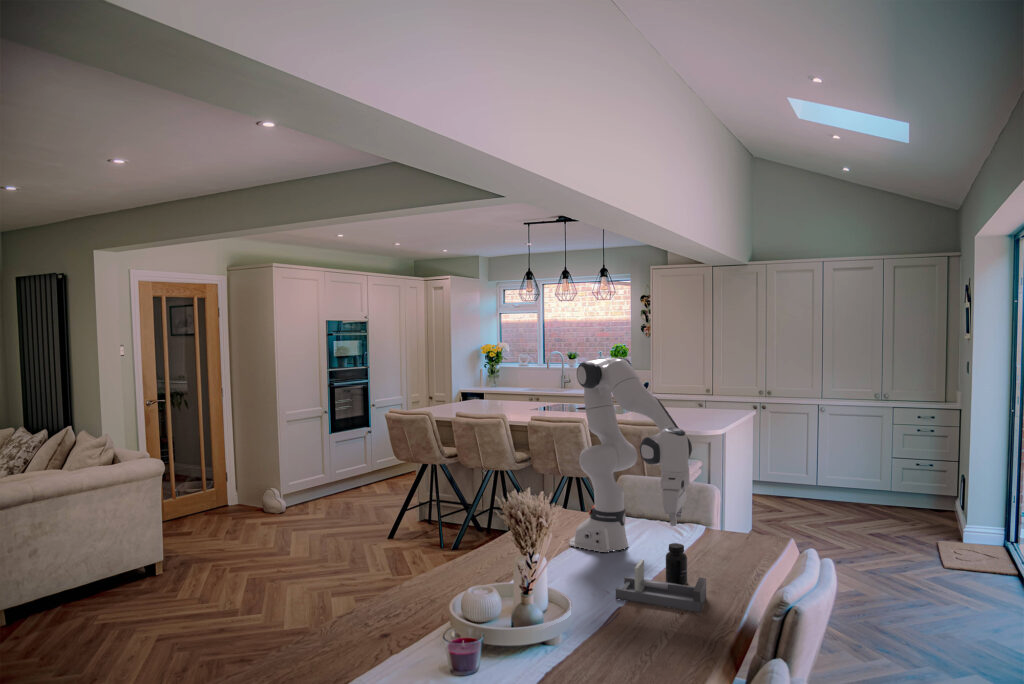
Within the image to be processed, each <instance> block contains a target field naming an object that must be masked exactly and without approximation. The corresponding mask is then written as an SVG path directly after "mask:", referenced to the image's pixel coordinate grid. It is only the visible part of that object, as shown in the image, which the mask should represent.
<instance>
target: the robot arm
mask: <svg viewBox="0 0 1024 684" xmlns="http://www.w3.org/2000/svg"><path fill="white" fill-rule="evenodd" d="M576 380H577V383H579V385H580V386H581V387H582V388H584V391H583V392H584V393H583V395H584V396H583V397H584V398H583V399H584V409H585V414H586V420H587V421H586V422H587V426H588V429H589V431H590V432H591V433H593V434H594V435H595V436H597V438H598V439H599V441H600V443H601V444H595V445H592V446H589V447H587V448H584V449H583V450H582V451H581V452H580V454H579V457H578V463H579V466H580V469H581V470H582V471H583V473H585V474H586V475H587V476H588V478H589V479H590V481H591V483H592V487H593V494H594V495H593V496H594V497H593V499H594V505H593V506H592V507H591V508H590V509H589V511H588V515H589V517H588V518H587V519H585V520H584V521H582V522H581V523H580V524H579V525H577V527H576V530H575V534H574V536H573V537H571V538H570V539H569V543H568V544H569V547H571V546H575V547H574V548H576V547H579V548H578V549H581V548H584V549H583V550H585V549H589V550H588V551H590V550H594V551H593V552H595V551H600V552H608V551H613V550H621V549H624V548H626V547H628V545H629V542H628V538H627V534H626V532H627V531H626V528H625V527H626V526H625V525H626V509H625V507H624V506H625V504H624V503H625V500H624V499H625V498H624V497H625V495H624V488H623V486H622V485H621V484H619V483H618V482H616V479H615V476H614V473H616V472H620V471H626V470H627V469H630V468H631V467H633V466H635V465H636V463H637V461H638V452H637V449H636V448H635V446H634V445H633V444H632V443H631V442H629V441H628V440H627V439H626V437H625V436H624V435H623V433H622V431H621V429H620V427H619V424H618V423H619V422H618V420H617V416H616V410H615V404H614V400H615V402H616V403H617V404H618V406H619V407H620V408H622V410H625V411H628V412H631V413H636V414H639V415H643V416H646V417H647V418H649V419H651V420H652V421H653V422H654V424H655V425H656V427H657V428H658V430H659V431H660V432H658V433H656V434H654V435H653V434H652V435H649V436H646V437H644V438H643V439H642V441H641V443H640V445H639V452H640V457H641V459H642V461H643V462H645V463H646V464H647V465H651V466H657V465H658V466H659V465H660V466H661V469H660V475H661V477H660V486H659V487H660V489H661V490H662V503H663V511H664V514H666V515H668V518H669V522H670V523H669V525H670V526H671V527H675V526H677V524H678V522H677V520H678V519H681V518H682V517H683V509H684V504H685V502H686V501H687V487H688V486H690V468H689V459H690V457H691V455H692V452H693V445H692V442H691V440H690V438H689V437H688V436H687V433H686V431H685V430H683V429H681V428H679V426H678V425H677V423H676V422H675V421H674V419H673V417H672V416H671V415H670V413H669V412H668V410H667V409H666V408H665V406H664V405H663V403H662V402H661V401H660V399H658V398H657V397H656V396H654V395H653V394H652V393H651V392H650V391H649V390H648V389H647V388H646V386H645V385H644V384H643V382H642V381H641V379H640V377H639V375H638V373H637V372H636V370H635V369H634V367H633V365H632V363H631V361H630V360H629V359H628V358H626V357H619V356H618V357H603V358H602V357H601V358H598V359H593V360H585V361H582V362H581V363H579V365H578V367H577V369H576ZM612 395H613V396H612ZM613 398H614V399H613ZM628 548H629V547H628ZM624 550H625V549H624ZM621 551H622V550H621ZM600 552H599V553H600ZM613 552H614V551H613ZM608 553H609V552H608Z"/></svg>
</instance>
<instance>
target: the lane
mask: <svg viewBox="0 0 1024 684" xmlns="http://www.w3.org/2000/svg"><path fill="white" fill-rule="evenodd" d="M623 578H624V579H623V581H624V585H623V586H622V588H619V587H616V588H615V600H617V599H620V600H619V601H624V600H625V602H630V601H631V602H632V603H636V602H637V604H642V603H643V604H644V605H648V604H649V606H656V607H661V606H662V608H667V607H670V608H669V609H673V608H675V609H674V610H679V609H682V611H686V610H689V611H688V612H692V611H694V612H693V613H698V614H702V612H703V608H704V605H705V602H706V600H707V578H705V577H700V576H699V577H698V579H697V581H696V583H695V585H687V584H685V585H681V584H674V583H667V582H666V581H659V580H653V579H646V578H644V580H646V581H653V582H659V583H666V584H668V589H662V588H655V587H649V586H644V590H643V591H642V592H640V591H635V577H631V576H630V577H629V576H624V577H623ZM643 604H642V605H643Z"/></svg>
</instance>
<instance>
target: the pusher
mask: <svg viewBox="0 0 1024 684" xmlns="http://www.w3.org/2000/svg"><path fill="white" fill-rule="evenodd" d="M634 578H635V591H640V592H642V591H643V590H644V586H649V587H655V588H662V589H668V584H666V583H659V582H653V581H654V580H653V581H646V580H647V579H646V580H644V579H645V560H644V559H640V560H639V561H638V563H637V564H636V565H635V567H634Z"/></svg>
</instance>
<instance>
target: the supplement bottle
mask: <svg viewBox="0 0 1024 684" xmlns="http://www.w3.org/2000/svg"><path fill="white" fill-rule="evenodd" d="M684 552H685V546H684V544H682V543H677V542H675V543H673V542H672V543H670V544H668V552H667V553H666V554H665V582H667V583H674V584H681V585H687V583H688V557H687V554H686V553H684Z"/></svg>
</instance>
